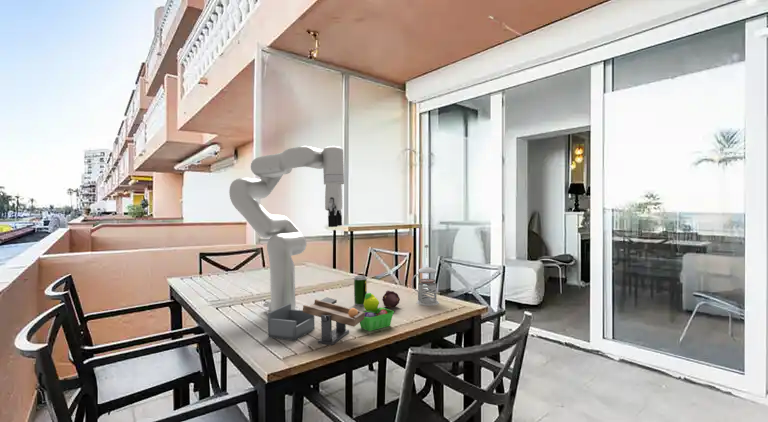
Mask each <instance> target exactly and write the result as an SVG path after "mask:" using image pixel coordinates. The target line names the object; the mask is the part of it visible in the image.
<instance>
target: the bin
mask: <svg viewBox="0 0 768 422" xmlns="http://www.w3.org/2000/svg"><path fill="white" fill-rule="evenodd" d="M315 324H316V323H315V315H311V314H308V313H304V312H303V309H300V310H292V309H291V304H287V305H285V306H282V307H280V308H278V309H276V310H273V311H271V312H269V313H268V315H267V328H268V329H267V333H268V334H267V335H268V338H269V339H278V340H286V341H294V342H296V341H297V340H299V339H300V338H302V337H303V336H305V335H307V334H309V333H310V332H311V331H313V330H315Z"/></svg>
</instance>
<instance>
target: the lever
mask: <svg viewBox="0 0 768 422" xmlns="http://www.w3.org/2000/svg"><path fill="white" fill-rule="evenodd" d="M337 301H338V300H337V299H336V298H331V297H327V296H326V297H324V298H322V299H316V298H315V299H314V303H312V304H310V305H307V304H304V305H303V304H302V310H303V312H304V313H308V314H311V315H314V317H315V316H316V317H319V318H321V315H331V318H332V321H333V322H335V323H336V322H339V323H343V324H346V326H351V327H356V326H357V325H359V324H360V322H361V321H362V320H364V317H365V312H363V311H361V310H358V309H357V311H358V314H357V315H356V316H354V317H353V318H351V317H350V316H349V314H348V312H349V310H350V309H351V308H350V307H346V306H342V305H339V304H337Z"/></svg>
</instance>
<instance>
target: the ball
mask: <svg viewBox="0 0 768 422" xmlns="http://www.w3.org/2000/svg"><path fill="white" fill-rule="evenodd" d="M357 310H358V309H357V308H355V307H352V308H350V310H349V312H348V314H349V316H350V317H351V318H353V317H354V316H356V315H357V314H358V311H359V310H358V311H357Z"/></svg>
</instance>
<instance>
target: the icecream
mask: <svg viewBox="0 0 768 422" xmlns="http://www.w3.org/2000/svg"><path fill="white" fill-rule="evenodd" d="M381 300H382V302H383V305H384V307H386V308H387V309H395V308H396V307H397V306H398V305H399V304H400V301H401V298H400V296H399V293H397V292H395V291H392V290H391V291H390V290H386V291H385V293H384V295H383V296H382V299H381Z"/></svg>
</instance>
